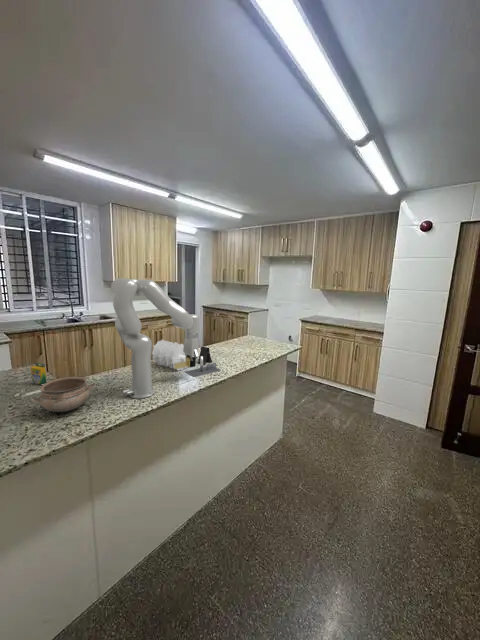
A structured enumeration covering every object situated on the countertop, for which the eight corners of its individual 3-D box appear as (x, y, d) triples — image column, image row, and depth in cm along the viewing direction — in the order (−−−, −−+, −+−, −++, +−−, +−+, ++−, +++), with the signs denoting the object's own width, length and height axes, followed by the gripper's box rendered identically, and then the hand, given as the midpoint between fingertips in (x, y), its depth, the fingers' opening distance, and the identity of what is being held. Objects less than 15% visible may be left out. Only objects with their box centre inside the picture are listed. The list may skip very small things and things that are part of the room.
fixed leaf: (201, 372, 173) (201, 357, 171) (199, 370, 175) (199, 356, 173) (217, 368, 181) (217, 354, 179) (214, 367, 183) (214, 353, 181)
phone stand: (203, 366, 186) (203, 349, 184) (197, 364, 190) (197, 347, 188) (212, 362, 193) (212, 346, 191) (206, 361, 197) (206, 345, 195)
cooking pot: (89, 394, 139) (88, 371, 137) (103, 407, 126) (101, 382, 124) (29, 410, 121) (26, 385, 119) (37, 427, 108) (34, 399, 106)
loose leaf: (176, 369, 152) (176, 361, 151) (173, 367, 155) (173, 359, 154) (195, 366, 160) (195, 357, 159) (191, 364, 163) (191, 356, 162)
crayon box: (32, 383, 150) (29, 363, 148) (37, 381, 153) (35, 362, 151) (41, 385, 148) (39, 365, 146) (47, 383, 151) (45, 363, 149)
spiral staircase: (180, 378, 173) (154, 369, 185) (197, 361, 185) (171, 353, 197) (172, 357, 163) (144, 348, 176) (190, 340, 175) (163, 333, 188)
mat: (193, 378, 164) (193, 377, 164) (184, 372, 173) (183, 371, 173) (221, 370, 177) (221, 370, 177) (211, 365, 186) (211, 365, 186)
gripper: (179, 333, 162) (178, 363, 164) (193, 338, 149) (192, 370, 151) (190, 332, 166) (188, 361, 169) (205, 337, 154) (203, 368, 156)
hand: (190, 365), depth 160 cm, fingers closed on loose leaf, 4 cm apart
